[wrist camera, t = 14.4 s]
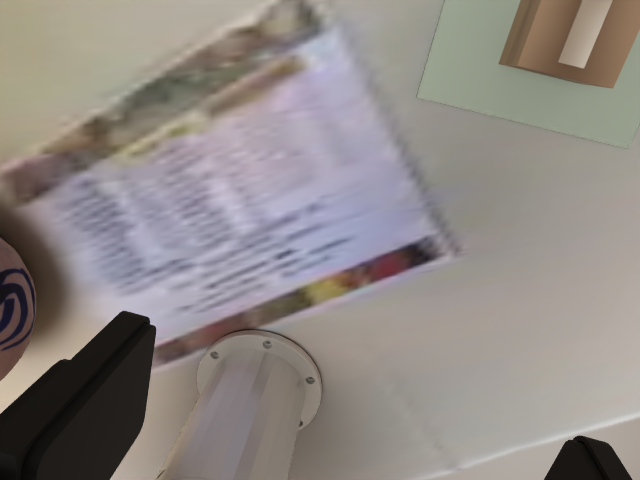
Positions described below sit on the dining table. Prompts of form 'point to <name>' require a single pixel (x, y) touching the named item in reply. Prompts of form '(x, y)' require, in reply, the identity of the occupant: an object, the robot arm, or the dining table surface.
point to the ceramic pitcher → (14, 307)
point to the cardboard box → (573, 39)
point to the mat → (522, 79)
